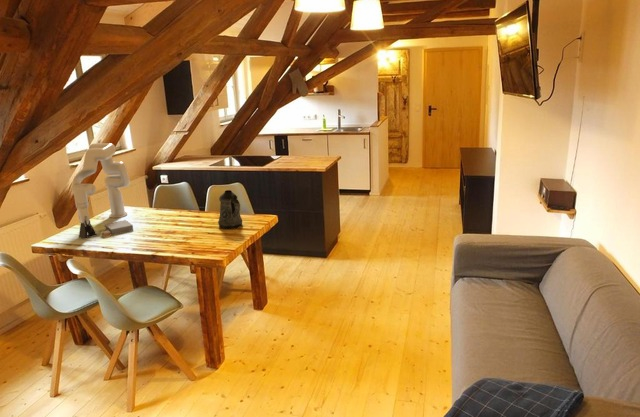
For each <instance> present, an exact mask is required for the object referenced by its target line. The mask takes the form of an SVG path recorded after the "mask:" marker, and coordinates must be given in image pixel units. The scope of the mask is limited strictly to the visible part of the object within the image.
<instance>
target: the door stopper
mask: <svg viewBox="0 0 640 417" xmlns="http://www.w3.org/2000/svg"><path fill="white" fill-rule="evenodd" d="M85 222H86V221H85ZM79 223H80V226H79V234H78V239H83V240H86V239H89V238H91V237H94V236H97V233H96V230H95V229H94V227H93V225H92V224H91V220H90V221H89V224H90V228H91V231H90V232H85V224H84V223H81V222H80V221H79Z"/></svg>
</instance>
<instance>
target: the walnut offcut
mask: <svg viewBox="0 0 640 417" xmlns="http://www.w3.org/2000/svg"><path fill="white" fill-rule="evenodd" d="M101 235H102V237H103V238H108V237H112V235H111V232H110V231H108V230H104V231H101Z"/></svg>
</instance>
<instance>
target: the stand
mask: <svg viewBox="0 0 640 417" xmlns="http://www.w3.org/2000/svg"><path fill="white" fill-rule="evenodd" d="M104 228H105V231H107V230H108V231H110V232H111V236H115V235H119V234H124V233H128V232H132V231H133V232H134V227H133V224H132V223H131V222H129V221H127V220H126V219H124V220H118V221H113V222H108V223H104Z"/></svg>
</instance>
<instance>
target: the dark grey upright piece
mask: <svg viewBox="0 0 640 417" xmlns="http://www.w3.org/2000/svg"><path fill="white" fill-rule="evenodd" d="M218 199H219V202H220V205H219V206H220V207H219V217H218V221H217V223H218V227H219V228H220V229H222V230H235V229H238V227H239V228H241V227H242V226H243V219H242V216H241V213H240V211H241V204H240V201H239V199H238V195H236V194H235V193H234V192H233V191H232V190H230V189H229V190H227V189H226V190H225V191H224V192H223V193H222V194H221V195H220V196H219V198H218ZM240 226H241V227H240ZM234 228H235V229H234Z"/></svg>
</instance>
